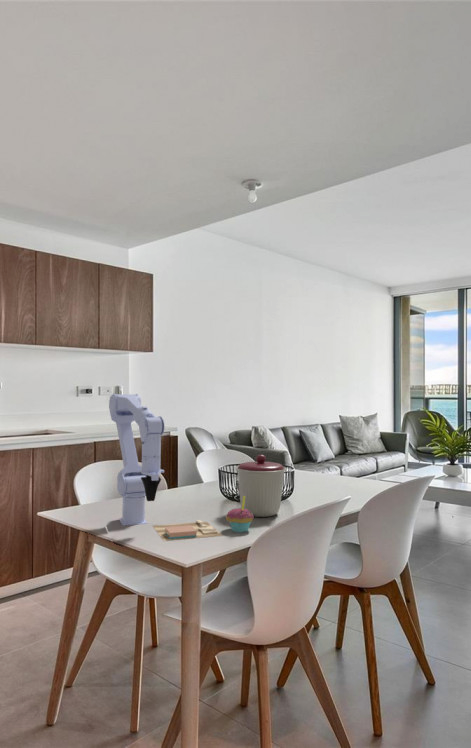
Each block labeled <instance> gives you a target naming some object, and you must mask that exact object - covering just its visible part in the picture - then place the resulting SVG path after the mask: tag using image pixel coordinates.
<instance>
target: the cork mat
mask: <svg viewBox="0 0 471 748" xmlns="http://www.w3.org/2000/svg"><path fill="white" fill-rule="evenodd" d="M202 522H203V523H204V524H205V525H207V527H213V528H214V529H215V530H216V531H217V532H218V533H216V534H203V533H202V532H201V531H200V530H199V528H201V527H200V526H199V525H198V524H197V523H196V521H194V522H183V523H169V524H168V523H167V524H155V525H152V527H153V529H154V530H155V531H156V532H157V534H158V535H159V536H160V538H161V539H162V541H163V542H168V541H178V540H179V541H181V540H192V539H201V538H202V539H203V538H215V537H223V536H224V535H223V534H222V533H221V532H220V531H218V529H216V528H215V527H214V526H213V525H212V524H210V523H209V522H207V521H202ZM186 525H191V526H192V527H193V528H194V529H195V530H196V531H197V534H196V537H191V538H179V539H169V538H168V536H167V535H166V534H165V527H173V526H186Z"/></svg>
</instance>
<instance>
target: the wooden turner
mask: <svg viewBox="0 0 471 748" xmlns="http://www.w3.org/2000/svg"><path fill="white" fill-rule="evenodd" d="M195 522H196V523H197V524H198V525H199V526H200V527H201V528H199V530H200V531H201V532H202V533H203V534H216V533H218V532H219V531H218V530H217V529H216V528H215V527H214V526H212V527H207V525H205V524H204V523H203V522H204V521H202V520H201V519H196V520H195ZM213 527H214V528H215V529H216V530H217V531H218V532H217V531H216V530H215V529H214V528H213Z"/></svg>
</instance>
